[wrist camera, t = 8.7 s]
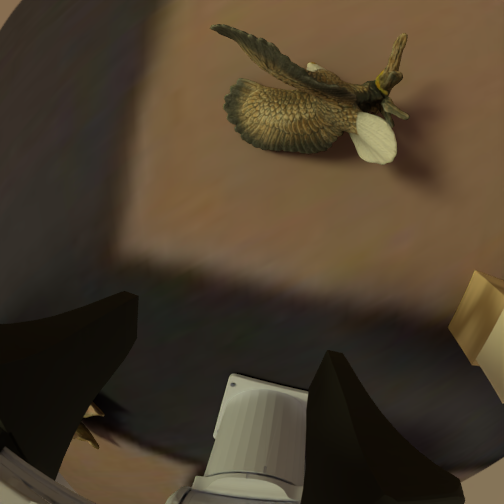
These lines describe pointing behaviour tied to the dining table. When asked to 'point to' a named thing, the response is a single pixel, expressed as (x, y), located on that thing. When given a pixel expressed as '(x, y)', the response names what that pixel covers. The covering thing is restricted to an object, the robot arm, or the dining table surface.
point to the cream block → (494, 357)
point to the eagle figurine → (312, 104)
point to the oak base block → (477, 313)
